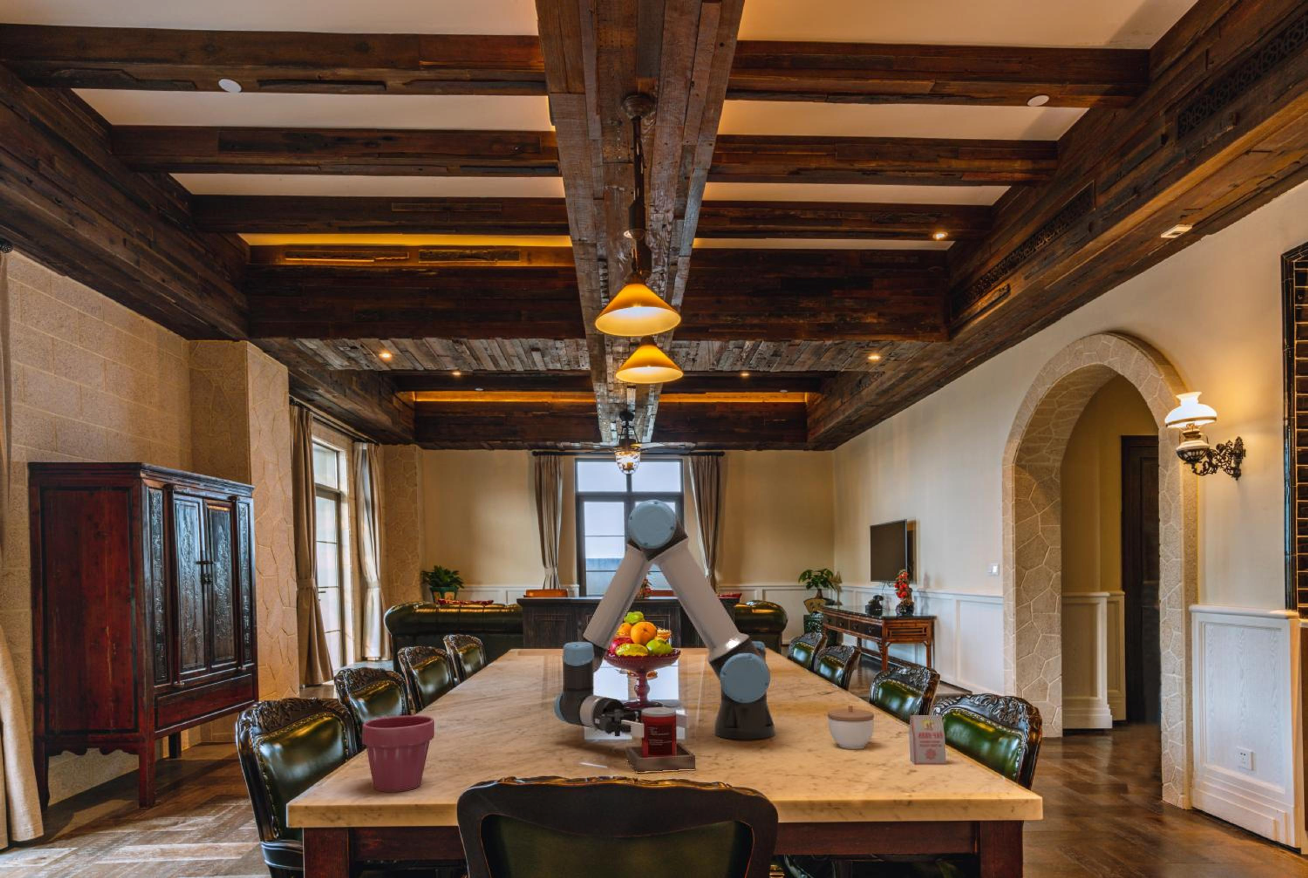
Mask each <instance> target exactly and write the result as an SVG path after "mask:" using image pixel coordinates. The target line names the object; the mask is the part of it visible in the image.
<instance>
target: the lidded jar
mask: <svg viewBox="0 0 1308 878" xmlns="http://www.w3.org/2000/svg"><path fill="white" fill-rule="evenodd" d="M853 707H854V706H853V705H852V704H851V705H850V704H849V705H848V706H847V708H837V709H831V710H829V711H828V712H827V718H828V719H827V720H828V729H829V732H830V735H831V737H832V739H833V740H834V742H836V744H837V745H838V747H839V748H841V749H846V750H861V749H862V750H863V749H864V748H866V745H867V744H868V743H870V741H871V740H872V737H873V733H874V725H875V722H874V719H875V714H874V712H873V711H870V710H868V709H867V710H866V709H860V708H853Z"/></svg>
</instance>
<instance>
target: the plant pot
mask: <svg viewBox="0 0 1308 878" xmlns="http://www.w3.org/2000/svg"><path fill="white" fill-rule="evenodd" d="M434 738H435V718H433V717H430V716H427V715H426V716H425V715H398V716H397V715H396V716H387V717H380V718H374V719H370V720H367V721H365V722H364V723H362V730H361V743H362V744H363V746H364V745H365V746H366V751H367V752H366V753H367V757H368V763H369V769H370V774H371V779H372V785H373V788H374V789H375V790H376V791H379V792H387V793H388V792H389V793H390V792H391V793H394V792H395V793H396V792H404V791H410V790H413V789H416V788H419V787H420V786H421V784H422V780H423V775H424V771H425V765H426V762H427V756H428V752H429V748H430V747H429V746H430V742H431V740H432V741H433V739H434Z"/></svg>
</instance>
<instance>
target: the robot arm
mask: <svg viewBox="0 0 1308 878" xmlns="http://www.w3.org/2000/svg"><path fill="white" fill-rule="evenodd" d="M629 514H630V515H629V516H628V521H627V529H628V534H629V538H628V540H627V542H626V548H627V551H626V552H625V554H624V556H623V557H622V560H621V561H620V563H619V565H618V567H617V569H616V571H615V573H614V575H613V577H612V579H611V581H610V583H609V585H608V587H607V589H606V591H605V593H604V594H603V596H602V597H601V600H600V601H599V603H598V606H597V607H596V609H595V611H594V613H593V616H592V618H591V619H590V621H589V623H588V625H587V626H586V628H585V631H584V633H583V635H582V637H581V638H580V639H579V641H571V642H567V643H565V644H564V645H563V648H562V657H561V659H562V691H561V692H560V693H559V694H558V695H557V696H556V698H555V702H553V703H554V704H553V709H554V710H553V711H554V714H555V716H556V717H557V718H558V720H560V721H562V722H564V723H568V724H569V725H573V726H574V725H575V726H580V727H586V728H589V729H593V730H594V732H598V731H602V732H604V733H605V734H607V735H611V734H612V733H614V737H615V738H617V737H621V734H623V735H626V736H627V735H628V736H632V737H636V738H640V739H641V738H642V737H644V724H641V713H642V710H643V709H646V707H639V706H638V707H636V708H631V707H629V706H627V707H625V706H624V704H623V702H622V701H621V700H620V699H618V698H612V697H606V696H602V695H595V694H594V688H595V686H594V680H595V678H594V676H595V675H594V674H595V673H596V672H598V670H599V669H600V667H601V666H602V664H603V660H604V658H605V656H606V654H607V652H608V650H609V649H610V646H611V644H612V642H613V640H614V638H615V637H616V634H617V633H618V631H619V629H620V627H621V625H622V623H623V622H624V619H625V618H626V616H627V614H628V611H629V610H630V608H631V607H632V605H633V602H634V600H635V599H636V597H637V594H638V593H639V591H640V589H641V588H642V585H643V584H644V582H645V579H646V577H647V576H648V573H649V571H650V569H651V568H652V566H653V565H654V566H657V567H658V569H659V570H660V572H661V574H662V575H663V577H664V579H665V580H666V582H667V583H668V585H669V587H670V588H671V590H672V592H673V594H674V595H675V597H676V599H677V600H678V601H679V603H680V605H681V607H682V609H683V610H684V612H685V613H686V615H687V616H688V619H689V620H690V622H691V623H692V625H693V627H694V628H695V630H696V632H697V634H698V635H699V637H700V638H701V641H703V643H704V645H705V647H706V648H707V650H708V657H707V662H708V663H709V665H710V667H711V668H712V670H713V672H714V674H715V675H716V677H717V679H718V681H719V685H720V704H719V709H718V712H717V716H716V719H715V723H714V735H716V736H717V737H719V738H724V739H728V740H729V739H730V740H738V741H740V740H741V741H742V740H743V741H744V740H747V741H749V740H750V741H751V740H752V741H753V740H762V739H767V738H771V737H774V736H775V724H774V720H773V717H772V715H771V710H770V708H769V705H768V701H767V700H768V699H767V696H768V695H767V690H768V689H769V686H770V683H771V672H770V671H771V670H770V668H769V666H768V664H767V660H766V657H767V650H766V645H765V643H764V642H762V641H755V640H754V641H753V640H752V639H751V638H750V636H749V634H745V633H741V632H740V631H739V630H738V628H737V626H736V624H735V623H734V621H733V620H732V619H731V616H730V615H729V613H728V612H727V610H726V608H725V607H724V605H723V603H722V602H721V600H720V598H719V597H718V596H717V594H716V592H715V591H714V589H713V587H712V586H711V583H710V582H709V580H708V579H707V577H706V575H705V574H704V571H702V569H701V567H700V566H699V564H698V562H697V561H696V559H695V558H694V556H693V554H692V552H691V551H690V549H689V548H688V547H689V541H690V538H689V536H688V534H687V533H686V531H685V529H684V528H683V526H682V524H681V523H680V521H679V519H678V517H677V514H676V513H675V511H674V510H673V509H672V507H671V506H670V505H669V504H667V503H665V502H664V501H661V500H658V499H648V500H644V501H642V502H640V503H639V504H637V505H636V506H635V507H634V508H633V509H632V511H631V512H630V513H629ZM676 727H678V728H684V729H690V715H689V714H683V713H679V712H676Z"/></svg>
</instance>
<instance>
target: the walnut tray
mask: <svg viewBox="0 0 1308 878" xmlns="http://www.w3.org/2000/svg"><path fill="white" fill-rule="evenodd" d="M625 748H626V749H625V754H626V755H625V757H626V758H625V760H626V759H627V760H628V762H629V763H630V764H631V765H632V766H633V768H634V769H635V770H636V771H637V772H645V771H663V770H679V769H695V770H696V755H695V754H694V753H693V752H692V751H691V750H689V749H688V748H687V747H686V746H684V745H683V744H682V743H680V742H679V743H678V742H677V756H668V757H652V758H642V745H631V746H630V745H629V746H625ZM628 762H627V763H628ZM629 763H628V764H629ZM630 764H629V765H630ZM633 768H632V769H633ZM634 769H633V770H634Z"/></svg>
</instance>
